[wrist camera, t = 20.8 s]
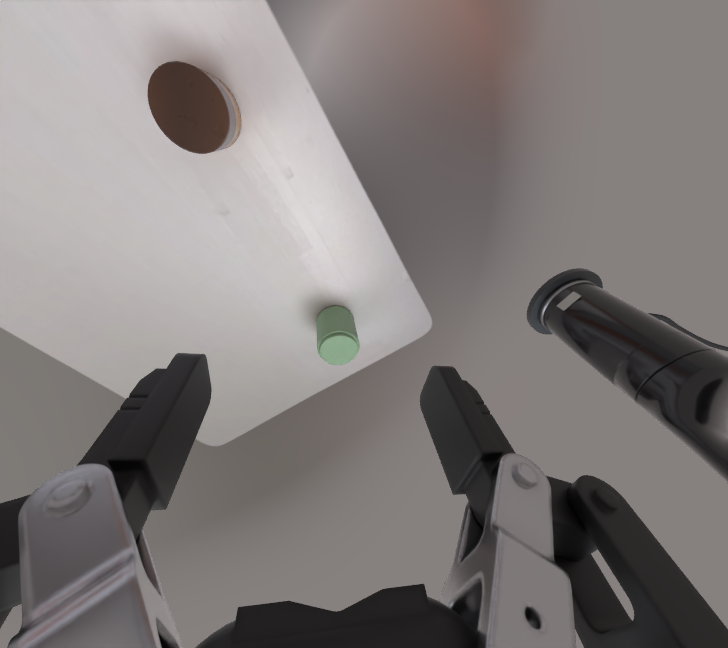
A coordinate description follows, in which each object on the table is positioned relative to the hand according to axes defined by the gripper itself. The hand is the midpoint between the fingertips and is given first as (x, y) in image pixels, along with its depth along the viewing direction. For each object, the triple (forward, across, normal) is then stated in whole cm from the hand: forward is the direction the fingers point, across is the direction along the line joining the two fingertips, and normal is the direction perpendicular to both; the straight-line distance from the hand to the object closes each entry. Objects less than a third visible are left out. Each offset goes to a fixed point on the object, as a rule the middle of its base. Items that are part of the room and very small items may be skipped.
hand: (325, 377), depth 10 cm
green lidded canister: (+28, -4, +16) cm, 32 cm away
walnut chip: (+25, +11, -7) cm, 29 cm away
